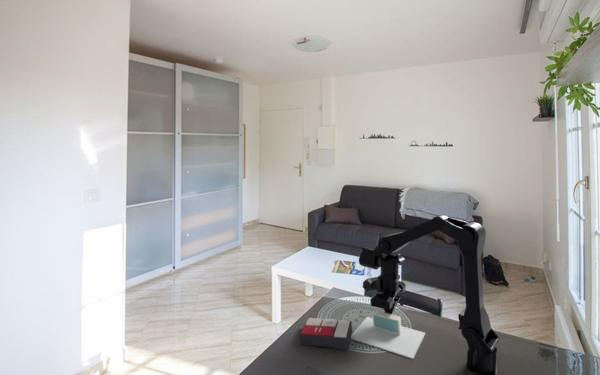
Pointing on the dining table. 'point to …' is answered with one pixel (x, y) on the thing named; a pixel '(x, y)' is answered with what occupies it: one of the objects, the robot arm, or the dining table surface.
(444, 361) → the dining table surface
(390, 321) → the block
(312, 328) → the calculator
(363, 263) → the robot arm
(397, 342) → the mat
